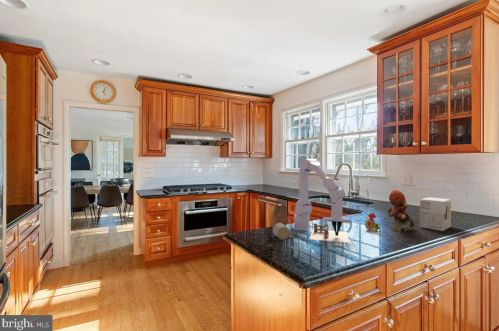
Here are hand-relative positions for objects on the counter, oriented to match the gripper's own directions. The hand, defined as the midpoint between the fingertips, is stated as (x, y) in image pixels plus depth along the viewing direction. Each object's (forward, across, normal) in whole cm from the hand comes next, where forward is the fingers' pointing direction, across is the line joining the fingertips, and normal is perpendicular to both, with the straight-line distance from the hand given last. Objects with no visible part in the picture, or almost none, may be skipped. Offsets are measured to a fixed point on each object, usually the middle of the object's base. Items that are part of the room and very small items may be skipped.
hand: (336, 235), depth 146 cm
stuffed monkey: (+2, +38, +34) cm, 51 cm away
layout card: (+2, -4, +4) cm, 6 cm away
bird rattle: (+2, +20, +24) cm, 32 cm away
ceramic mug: (+2, -28, -8) cm, 29 cm away
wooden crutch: (+1, -6, +2) cm, 6 cm away
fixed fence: (+1, -9, +9) cm, 12 cm away
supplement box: (+2, +60, +46) cm, 76 cm away
